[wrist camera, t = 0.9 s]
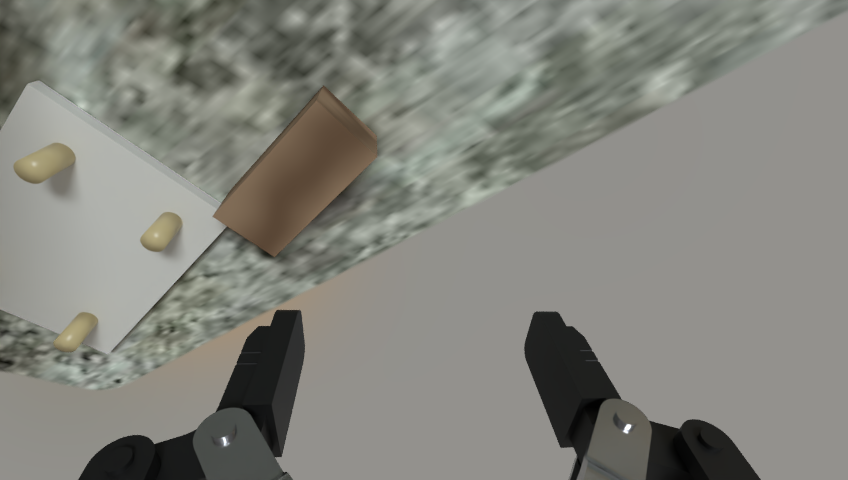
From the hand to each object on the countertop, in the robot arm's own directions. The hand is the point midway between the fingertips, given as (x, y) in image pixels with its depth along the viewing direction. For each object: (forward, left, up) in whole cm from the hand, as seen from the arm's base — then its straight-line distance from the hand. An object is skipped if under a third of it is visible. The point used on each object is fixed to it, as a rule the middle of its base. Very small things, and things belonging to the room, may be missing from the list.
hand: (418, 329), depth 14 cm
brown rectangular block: (-4, -6, -20) cm, 21 cm away
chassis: (-12, -23, -19) cm, 32 cm away
